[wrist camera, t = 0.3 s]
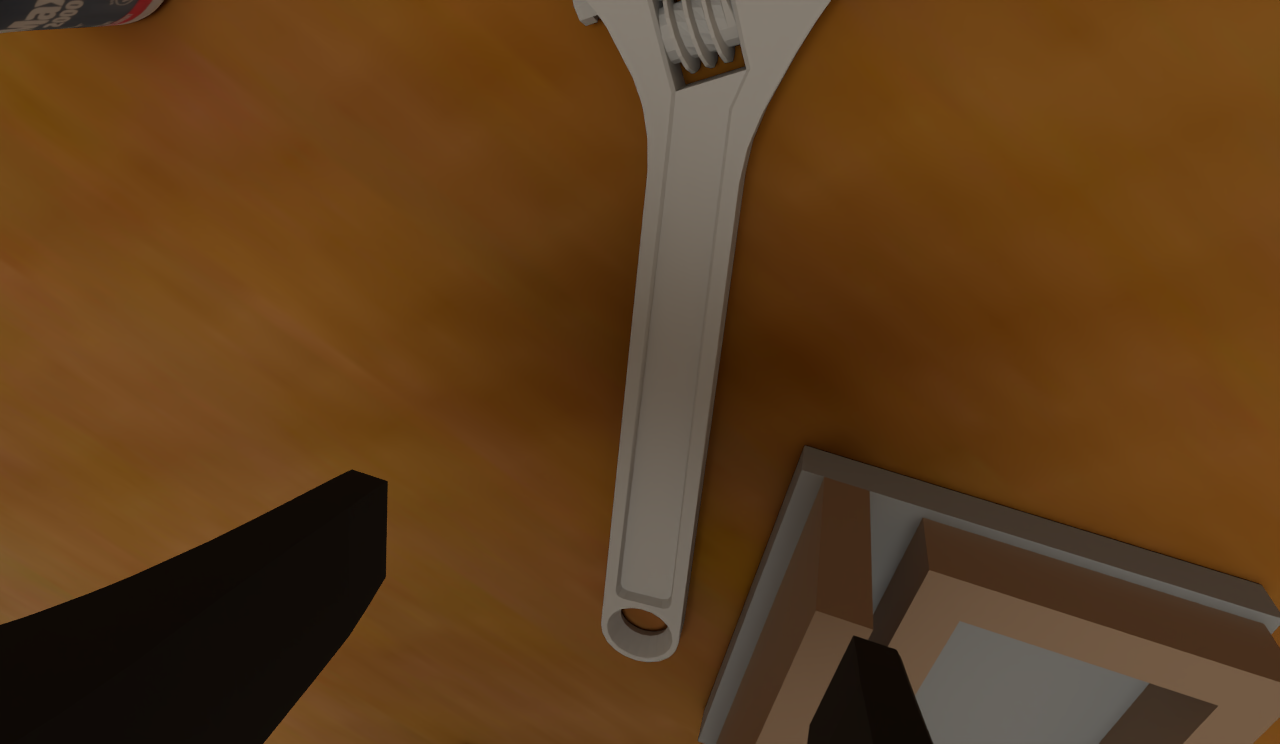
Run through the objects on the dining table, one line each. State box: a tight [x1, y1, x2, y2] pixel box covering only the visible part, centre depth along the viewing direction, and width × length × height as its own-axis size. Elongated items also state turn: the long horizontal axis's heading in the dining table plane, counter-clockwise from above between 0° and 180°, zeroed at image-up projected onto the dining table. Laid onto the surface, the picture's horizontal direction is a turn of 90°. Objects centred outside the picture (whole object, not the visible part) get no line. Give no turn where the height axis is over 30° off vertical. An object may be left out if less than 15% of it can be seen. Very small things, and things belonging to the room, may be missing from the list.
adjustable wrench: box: [573, 0, 831, 662], centre depth 19 cm, size 25×6×2 cm, turn 170°
